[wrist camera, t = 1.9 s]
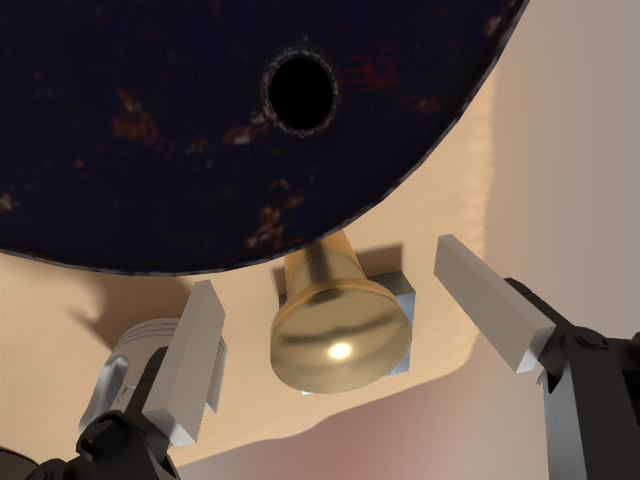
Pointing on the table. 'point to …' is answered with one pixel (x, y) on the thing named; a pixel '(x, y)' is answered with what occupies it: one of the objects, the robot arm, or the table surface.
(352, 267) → the brass flared knob
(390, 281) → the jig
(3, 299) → the table surface
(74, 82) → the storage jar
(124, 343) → the engine component
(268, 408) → the table surface
